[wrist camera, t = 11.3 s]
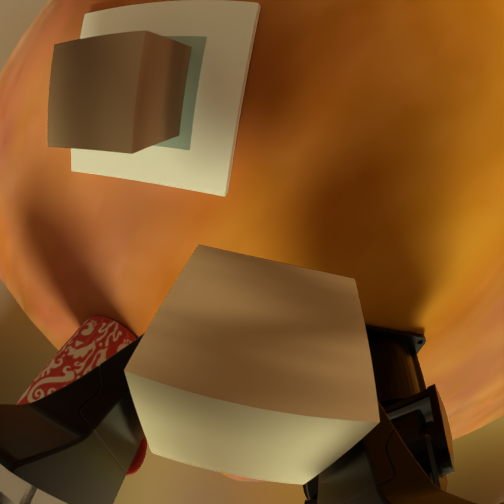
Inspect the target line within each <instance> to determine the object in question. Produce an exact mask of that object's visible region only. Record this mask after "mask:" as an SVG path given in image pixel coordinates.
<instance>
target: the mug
mask: <svg viewBox="0 0 504 504" xmlns="http://www.w3.org/2000/svg"><path fill="white" fill-rule="evenodd" d="M136 339H137V338H136V337H135V336H134V335H133V334H132V333H131V332H130V331H129V330H128V329H127V328H125V327H124V326H123V325H121V324H120V323H118V322H116V321H114V320H112V319H109V318H106V317H103V316H93V317H90V318H89V319H87V320H86V321H85V322H84V323H83V324H82V325H81V327H80V328H79V329H78V330H77V331H76V332H75V333H74V335H73V336H72V337H71V338H70V339H69V340H68V341H67V342H66V344H65V345H64V346H63V347H62V348H61V349H60V350H59V351H58V353H57V354H56V355H55V356H54V357H53V358H52V360H51V361H50V362H49V363H48V364H47V366H46V367H45V368H44V370H42V372H41V373H40V374H39V375H38V376H37V377H36V378H35V380H34V381H33V382H32V384H31V385H30V386H29V387H28V388H27V390H26V391H25V392H24V393H23V395H22V396H21V398H20V399H19V400H18V401H17V403H16V404H27V403H31V402H34V401H36V400H39V399H41V398H43V397H45V396H47V395H48V394H50V393H52V392H54V391H56V390H58V389H60V388H62V387H64V386H66V385H68V384H69V383H71V382H73V381H75V380H77V379H78V378H80V377H81V376H83V375H85V374H86V373H88V372H89V371H91V370H92V369H94V368H95V367H96V366H99V365H100V364H101V363H102V362H104V361H105V360H107V359H108V358H110V357H111V356H112V355H114V354H115V353H117V352H118V351H120V350H121V349H123V348H124V347H125V346H127V345H128V344H130V343H131V342H133V341H134V340H136ZM146 449H147V439H146V436H145V434H144V436H143V438H142V440H141V443H140V445H139V447H138V449H137V451H136V453H135V456H134V458H133V460H132V462H131V464H130V467H129V469H128V471H127V473H126V476H128V475H132V474H134V473H135V472H137V471H138V469H139V468H140V467H141V465H142V463H143V461H144V458H145V455H146Z"/></svg>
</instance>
